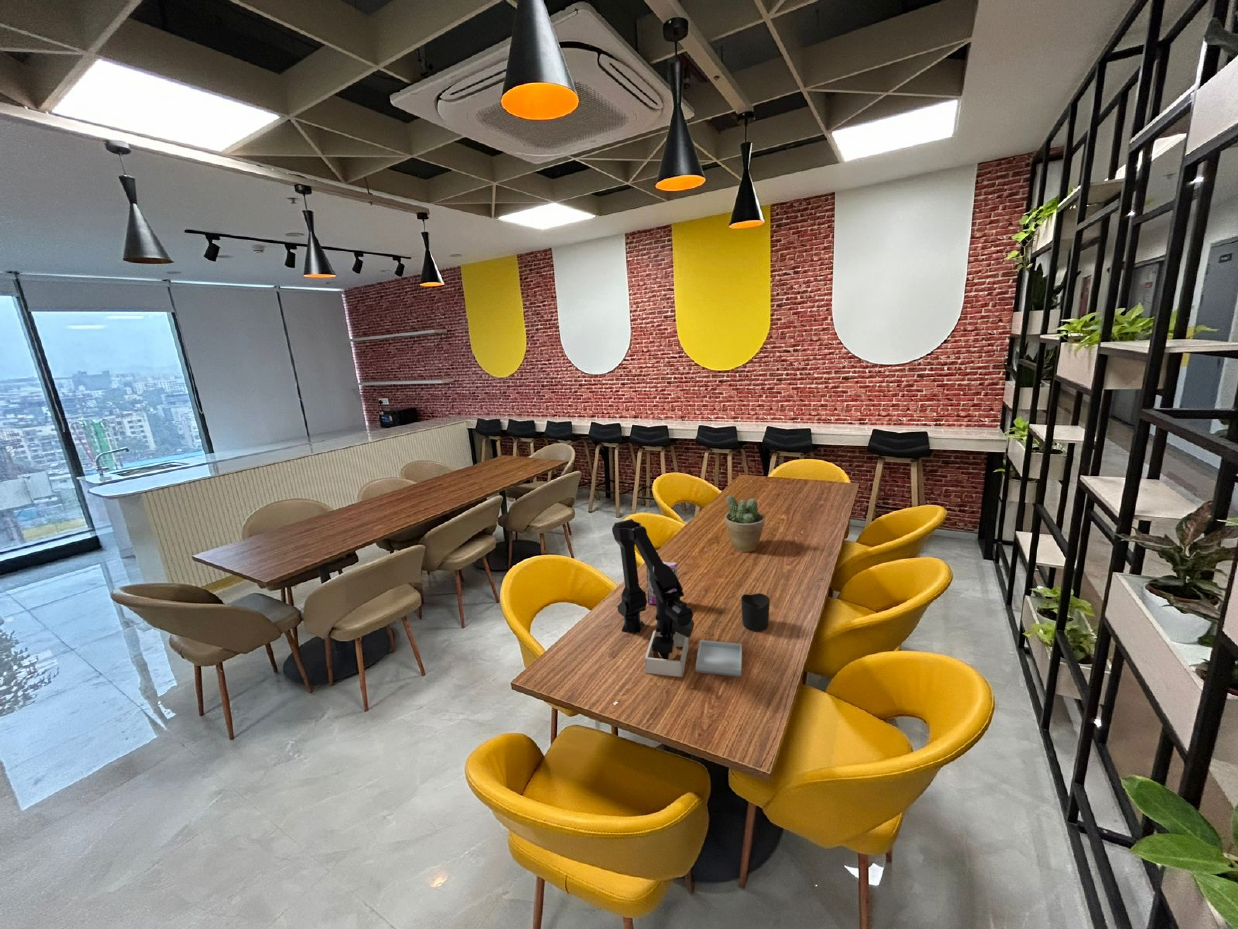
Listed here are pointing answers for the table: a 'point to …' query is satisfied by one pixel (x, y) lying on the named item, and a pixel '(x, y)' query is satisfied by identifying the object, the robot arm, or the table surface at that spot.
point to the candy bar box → (650, 594)
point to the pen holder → (755, 611)
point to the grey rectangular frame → (663, 664)
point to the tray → (719, 658)
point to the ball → (671, 654)
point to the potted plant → (744, 524)
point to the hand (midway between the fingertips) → (667, 655)
